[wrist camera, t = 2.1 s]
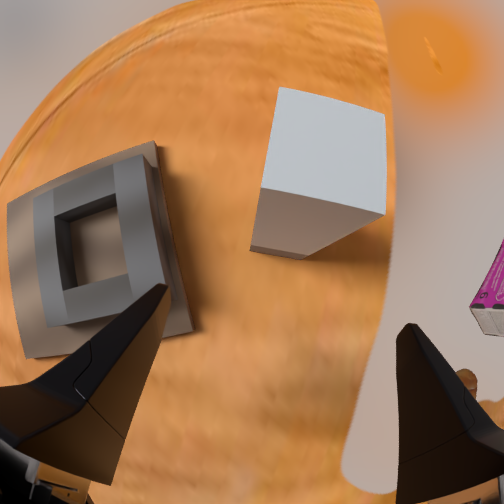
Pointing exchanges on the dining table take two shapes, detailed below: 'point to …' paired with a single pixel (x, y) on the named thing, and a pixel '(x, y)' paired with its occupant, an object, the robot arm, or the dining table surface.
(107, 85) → the dining table surface
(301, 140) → the white block
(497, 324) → the candy bar box
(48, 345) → the grey square socket base
